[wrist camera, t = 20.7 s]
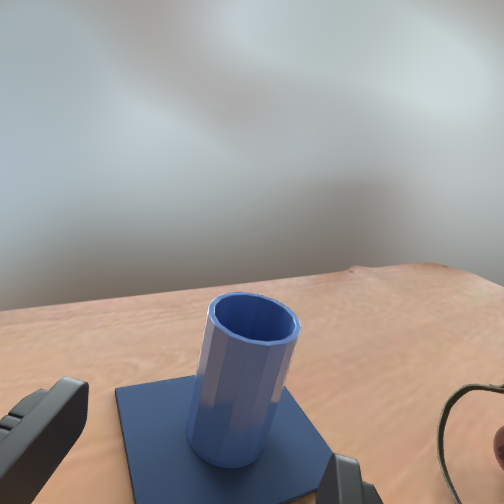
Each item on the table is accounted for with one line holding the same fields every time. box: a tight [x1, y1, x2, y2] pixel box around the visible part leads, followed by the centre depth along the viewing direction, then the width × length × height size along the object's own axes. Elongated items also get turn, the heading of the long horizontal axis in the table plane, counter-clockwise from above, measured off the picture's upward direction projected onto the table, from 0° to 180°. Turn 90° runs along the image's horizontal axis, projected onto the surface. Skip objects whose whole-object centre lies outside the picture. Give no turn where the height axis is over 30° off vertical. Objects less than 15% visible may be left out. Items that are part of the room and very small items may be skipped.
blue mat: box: [115, 375, 333, 504], centre depth 26 cm, size 14×12×1 cm
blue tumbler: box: [186, 292, 302, 468], centre depth 24 cm, size 6×6×10 cm
